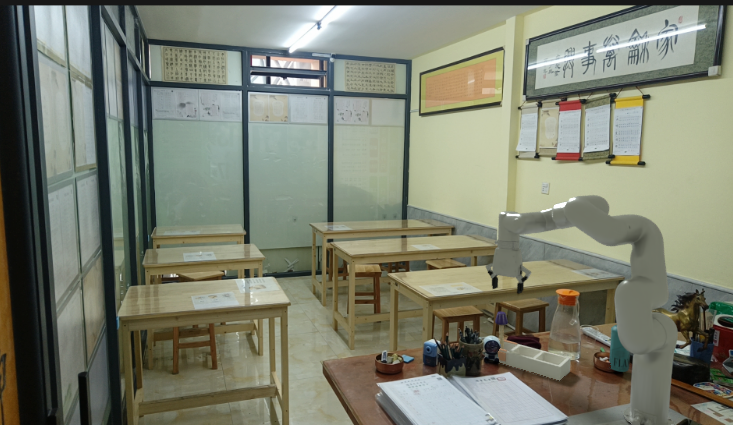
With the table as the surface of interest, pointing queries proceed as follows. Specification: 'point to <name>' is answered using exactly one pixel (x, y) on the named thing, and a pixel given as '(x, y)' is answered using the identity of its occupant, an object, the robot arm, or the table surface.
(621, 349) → the beverage bottle
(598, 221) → the robot arm
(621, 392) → the table surface
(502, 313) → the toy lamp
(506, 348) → the rack
